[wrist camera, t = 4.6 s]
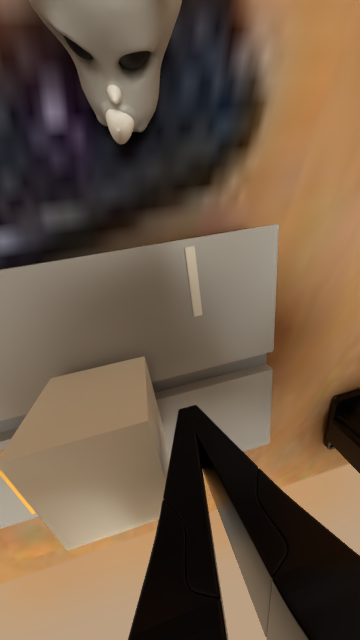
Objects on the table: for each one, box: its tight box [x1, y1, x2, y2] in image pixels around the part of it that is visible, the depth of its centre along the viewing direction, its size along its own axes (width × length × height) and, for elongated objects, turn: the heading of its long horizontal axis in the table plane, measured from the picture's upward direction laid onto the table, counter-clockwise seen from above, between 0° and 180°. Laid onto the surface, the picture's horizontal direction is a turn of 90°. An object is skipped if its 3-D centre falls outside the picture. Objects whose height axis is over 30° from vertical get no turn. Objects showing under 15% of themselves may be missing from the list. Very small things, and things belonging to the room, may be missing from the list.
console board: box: [0, 224, 279, 529], centre depth 11 cm, size 20×14×3 cm
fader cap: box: [0, 356, 169, 551], centre depth 8 cm, size 4×5×4 cm
